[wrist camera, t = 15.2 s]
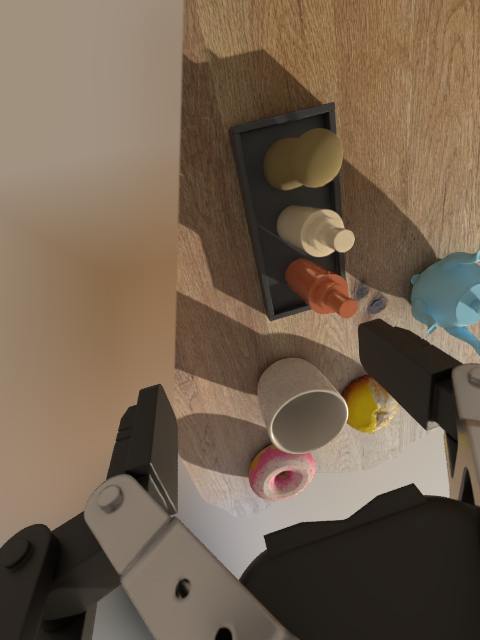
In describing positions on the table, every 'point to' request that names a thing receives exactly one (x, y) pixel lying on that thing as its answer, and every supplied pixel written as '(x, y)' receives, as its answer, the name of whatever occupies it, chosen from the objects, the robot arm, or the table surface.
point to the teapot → (449, 296)
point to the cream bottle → (314, 230)
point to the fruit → (368, 405)
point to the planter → (300, 406)
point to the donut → (280, 473)
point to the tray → (281, 203)
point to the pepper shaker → (303, 160)
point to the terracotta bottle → (320, 288)
